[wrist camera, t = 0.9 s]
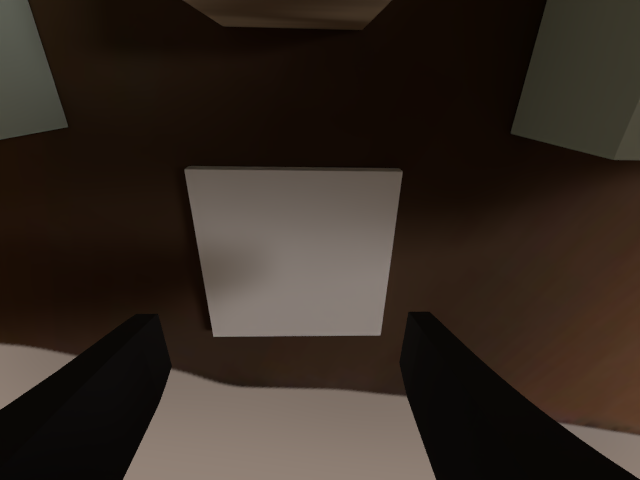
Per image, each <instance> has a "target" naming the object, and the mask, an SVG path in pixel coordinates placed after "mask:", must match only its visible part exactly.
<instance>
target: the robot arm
mask: <svg viewBox="0 0 640 480" xmlns="http://www.w3.org/2000/svg"><path fill="white" fill-rule="evenodd" d="M171 367H172V365H171V361H170V357H169V354H168V350H167V346H166V342H165V339H164V335H163V331H162V327H161V323H160V320H159V316H158V314H136V315H134V316H133V317H131V318H130V319H128V320H127V321H125V322H124V323H122V324H121V325H120V326H118V327H117V328H115V329H114V330H113V331H111V332H110V333H109V334H107V335H106V336H104V337H103V338H102V339H100V340H99V341H98V342H96V343H95V344H94V345H92V346H91V347H90V348H88V349H87V350H85V351H84V352H83V353H81V354H80V355H79V356H77V357H76V358H74V359H73V360H72V361H70V362H69V363H68V364H66V365H65V366H63V367H62V368H61V369H60V370H58V371H57V372H55V373H54V374H52V375H51V376H49V377H48V378H46V379H45V380H43V381H42V382H40V383H39V384H38V385H36V386H35V387H33V388H32V389H30V390H29V391H27V392H26V393H24V394H23V395H21V396H20V397H19V398H17V399H16V400H14V401H13V402H11V403H10V404H8V405H7V406H5V407H4V408H2V409H1V410H0V480H123V478H124V476H125V474H126V472H127V470H128V468H129V466H130V464H131V461H132V459H133V457H134V455H135V453H136V451H137V449H138V447H139V445H140V443H141V441H142V438H143V436H144V434H145V432H146V430H147V428H148V426H149V424H150V422H151V419H152V417H153V415H154V413H155V411H156V409H157V407H158V404H159V402H160V400H161V397H162V394H163V391H164V388H165V385H166V382H167V379H168V376H169V373H170V370H171ZM400 367H401V372H402V377H403V381H404V385H405V390H406V394H407V398H408V401H409V404H410V406H411V409H412V412H413V415H414V418H415V421H416V424H417V427H418V430H419V432H420V435H421V438H422V441H423V444H424V447H425V449H426V452H427V455H428V457H429V461H430V463H431V466H432V469H433V472H434V475H435V478H436V480H640V479H638V478H637V477H635V476H634V475H632V474H631V473H629V472H628V471H626V470H625V469H623V468H622V467H620V466H619V465H617V464H615V463H614V462H613V461H611V460H610V459H608V458H606V457H605V456H604V455H602V454H601V453H599V452H598V451H596V450H595V449H594V448H592V447H591V446H589V445H588V444H586V443H585V442H583V441H582V440H581V439H579V438H578V437H576V436H575V435H574V434H573V433H571V432H570V431H568V430H567V429H566V428H564V427H563V426H562V425H560V424H559V423H558V422H556V421H555V420H553V419H552V418H551V417H549V416H548V415H547V414H545V413H544V412H543V411H542V410H540V409H539V408H538V407H536V406H535V405H534V404H533V403H531V402H530V401H529V400H528V399H526V398H525V397H524V396H523V395H521V394H520V393H519V392H518V391H517V390H515V389H514V388H513V387H512V386H511V385H509V384H508V383H507V382H506V381H505V380H503V379H502V378H501V377H500V376H499V375H498V374H496V373H495V372H494V371H493V370H492V369H491V368H489V367H488V366H487V365H486V364H485V363H484V362H483V361H482V360H481V359H479V358H478V357H477V356H476V355H475V354H474V353H473V352H472V351H471V350H470V349H468V348H467V347H466V346H465V345H464V344H463V343H462V342H461V341H460V340H459V339H458V338H457V337H456V336H455V335H454V334H452V333H451V332H450V331H449V330H448V329H447V328H446V327H445V326H444V325H443V324H442V323H441V322H440V321H439V320H438V319H437V318H436V317H434V316H433V315H432V314H431V313H430V312H409V313H408V318H407V324H406V329H405V335H404V340H403V346H402V351H401V357H400Z"/></svg>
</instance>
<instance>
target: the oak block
mask: <svg viewBox="0 0 640 480" xmlns="http://www.w3.org/2000/svg"><path fill="white" fill-rule="evenodd" d="M183 1H185V2H186V3H188V4H189V5H191V6H192V7H194V8H195V9H197V10H198V11H200V12H202V13H203V14H205V15H206V16H208V17H209V18H211V19H212V20H214V21H215V22H217V23H219V24H220V25H222V26H227V27H265V28H302V29H340V30H363V29H364V28H365V27H366V26H367V25H368V24H369V23H370V22H371V21H372V20H373V19H374V18H375V17H376V16H377V15H378V14H379V13H380V12H381V11H382V10H383V9H384V8H385V7H386V6H387V5H388V4H389V3H390V2H391V1H392V0H183Z"/></svg>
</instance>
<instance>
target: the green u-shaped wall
mask: <svg viewBox="0 0 640 480" xmlns="http://www.w3.org/2000/svg"><path fill="white" fill-rule="evenodd" d="M66 127H68V124H67V121H66V118H65V115H64V112H63V108H62V105H61V102H60V99H59V96H58V93H57V90H56V87H55V83H54V80H53V77H52V74H51V71H50V68H49V65H48V62H47V59H46V55H45V52H44V49H43V46H42V43H41V40H40V37H39V34H38V30H37V27H36V24H35V21H34V18H33V15H32V12H31V9H30V6H29V2H28V0H0V140H1V139H6V138H12V137H17V136H23V135H28V134H33V133H39V132H44V131H50V130H55V129H60V128H66ZM510 134H514V135H518V136H521V137H525V138H529V139H533V140H537V141H541V142H545V143H549V144H553V145H557V146H561V147H565V148H568V149H572V150H576V151H580V152H584V153H588V154H592V155H596V156H600V157H604V158H608V159H612V160H640V0H547V2H546V6H545V10H544V13H543V17H542V20H541V24H540V28H539V31H538V35H537V39H536V42H535V46H534V49H533V53H532V57H531V60H530V64H529V68H528V71H527V75H526V79H525V82H524V86H523V89H522V93H521V97H520V100H519V104H518V108H517V111H516V115H515V118H514V122H513V126H512V129H511V133H510Z"/></svg>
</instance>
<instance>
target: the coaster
mask: <svg viewBox="0 0 640 480" xmlns="http://www.w3.org/2000/svg"><path fill="white" fill-rule="evenodd" d="M184 171H185V177H186V183H187V188H188V194H189V200H190V205H191V211H192V217H193V223H194V228H195V234H196V240H197V245H198V251H199V257H200V262H201V268H202V274H203V280H204V285H205V291H206V297H207V302H208V308H209V314H210V320H211V325H212V331H213V337H227V336H359V335H381V327H382V320H383V313H384V305H385V298H386V291H387V283H388V276H389V269H390V261H391V254H392V247H393V239H394V232H395V225H396V218H397V210H398V203H399V196H400V188H401V181H402V174H403V171H402V170H400V169H399V168H336V167H245V166H188V167H187V168H185V169H184Z"/></svg>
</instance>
